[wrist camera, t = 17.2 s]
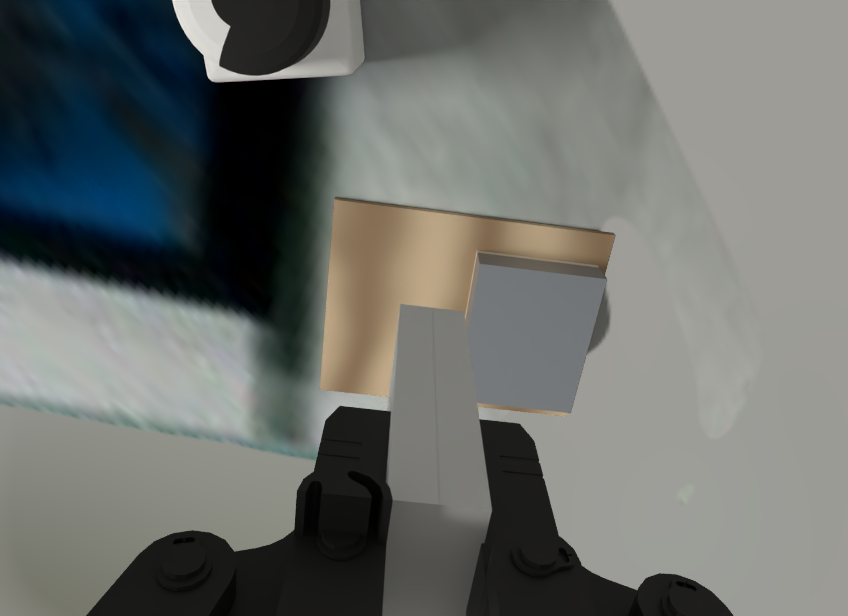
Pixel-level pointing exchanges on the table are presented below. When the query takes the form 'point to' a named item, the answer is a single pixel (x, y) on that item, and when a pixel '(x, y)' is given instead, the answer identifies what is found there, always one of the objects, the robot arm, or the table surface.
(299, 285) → the table surface
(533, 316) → the tile
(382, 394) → the mat
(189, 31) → the medicine bottle
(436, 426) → the robot arm
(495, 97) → the table surface
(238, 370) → the table surface
